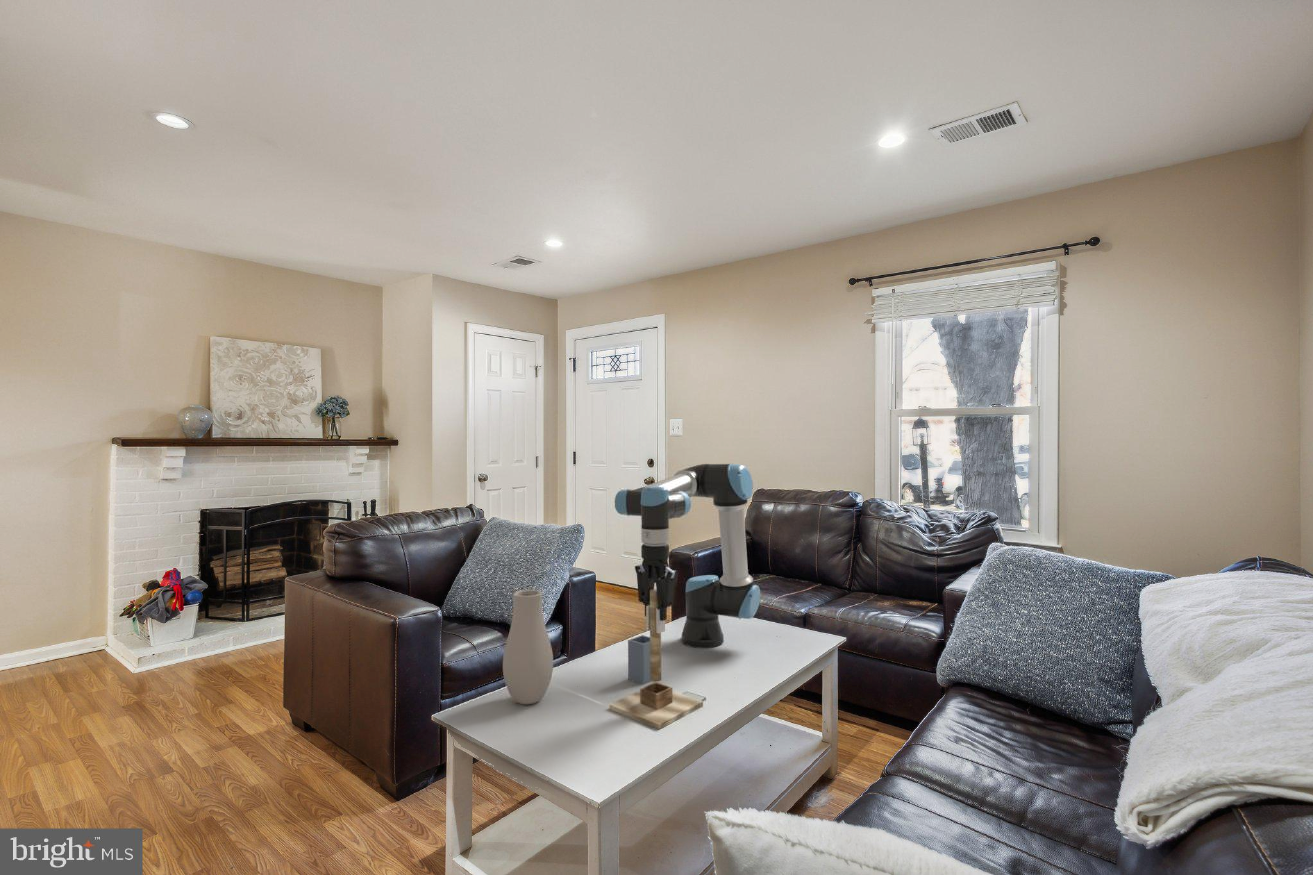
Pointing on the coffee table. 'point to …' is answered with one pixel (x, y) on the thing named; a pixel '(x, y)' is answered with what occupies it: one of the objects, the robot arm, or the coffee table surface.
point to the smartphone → (694, 696)
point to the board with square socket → (656, 705)
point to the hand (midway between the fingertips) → (655, 630)
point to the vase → (527, 650)
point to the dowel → (654, 640)
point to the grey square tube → (639, 659)
